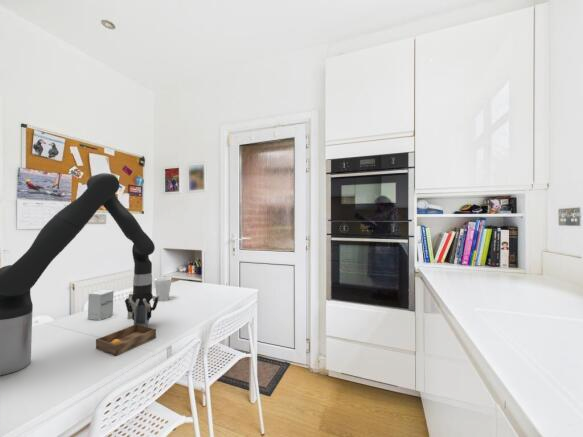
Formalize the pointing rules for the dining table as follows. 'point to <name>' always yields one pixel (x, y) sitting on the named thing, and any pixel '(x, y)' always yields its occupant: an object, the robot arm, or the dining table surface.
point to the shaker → (140, 315)
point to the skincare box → (132, 305)
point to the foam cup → (163, 287)
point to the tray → (125, 339)
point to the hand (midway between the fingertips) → (141, 319)
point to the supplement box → (100, 304)
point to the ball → (116, 341)
